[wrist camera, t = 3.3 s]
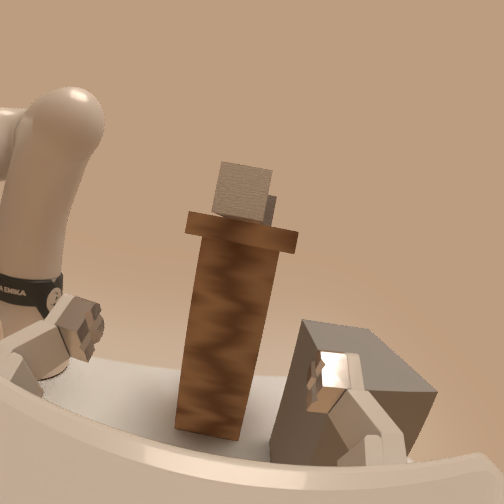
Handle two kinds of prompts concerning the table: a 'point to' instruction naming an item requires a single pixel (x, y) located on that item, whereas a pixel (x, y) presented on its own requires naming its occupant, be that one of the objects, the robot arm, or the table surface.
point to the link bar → (244, 194)
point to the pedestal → (375, 381)
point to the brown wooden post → (226, 320)
